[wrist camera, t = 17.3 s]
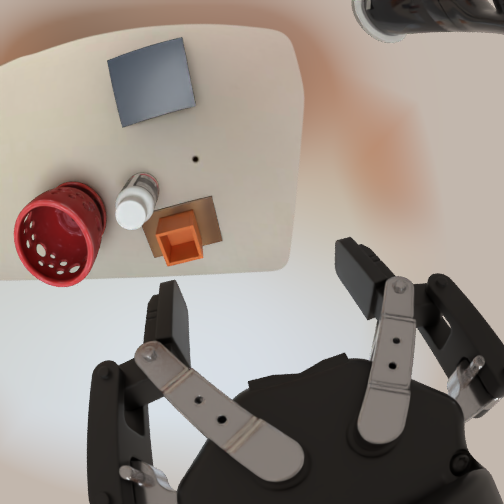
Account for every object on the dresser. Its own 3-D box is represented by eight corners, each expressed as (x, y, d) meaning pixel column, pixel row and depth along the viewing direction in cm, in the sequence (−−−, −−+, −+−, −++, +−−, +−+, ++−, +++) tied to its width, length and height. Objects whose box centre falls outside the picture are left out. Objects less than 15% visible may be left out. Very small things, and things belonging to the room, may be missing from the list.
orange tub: (193, 209, 42) (193, 224, 37) (201, 239, 45) (203, 257, 40) (159, 218, 42) (155, 234, 37) (169, 247, 45) (167, 266, 40)
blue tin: (184, 45, 29) (182, 37, 24) (196, 104, 34) (196, 106, 29) (119, 64, 28) (107, 60, 23) (132, 122, 33) (122, 127, 28)
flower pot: (112, 250, 43) (95, 295, 33) (48, 239, 39) (20, 280, 29) (117, 177, 37) (92, 207, 27) (46, 169, 33) (7, 197, 23)
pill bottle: (133, 209, 40) (120, 240, 32) (121, 179, 37) (102, 203, 29) (164, 198, 41) (157, 227, 33) (153, 167, 38) (141, 188, 30)
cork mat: (211, 195, 42) (211, 197, 42) (222, 239, 46) (222, 241, 46) (139, 215, 41) (138, 216, 41) (154, 256, 46) (154, 258, 45)
